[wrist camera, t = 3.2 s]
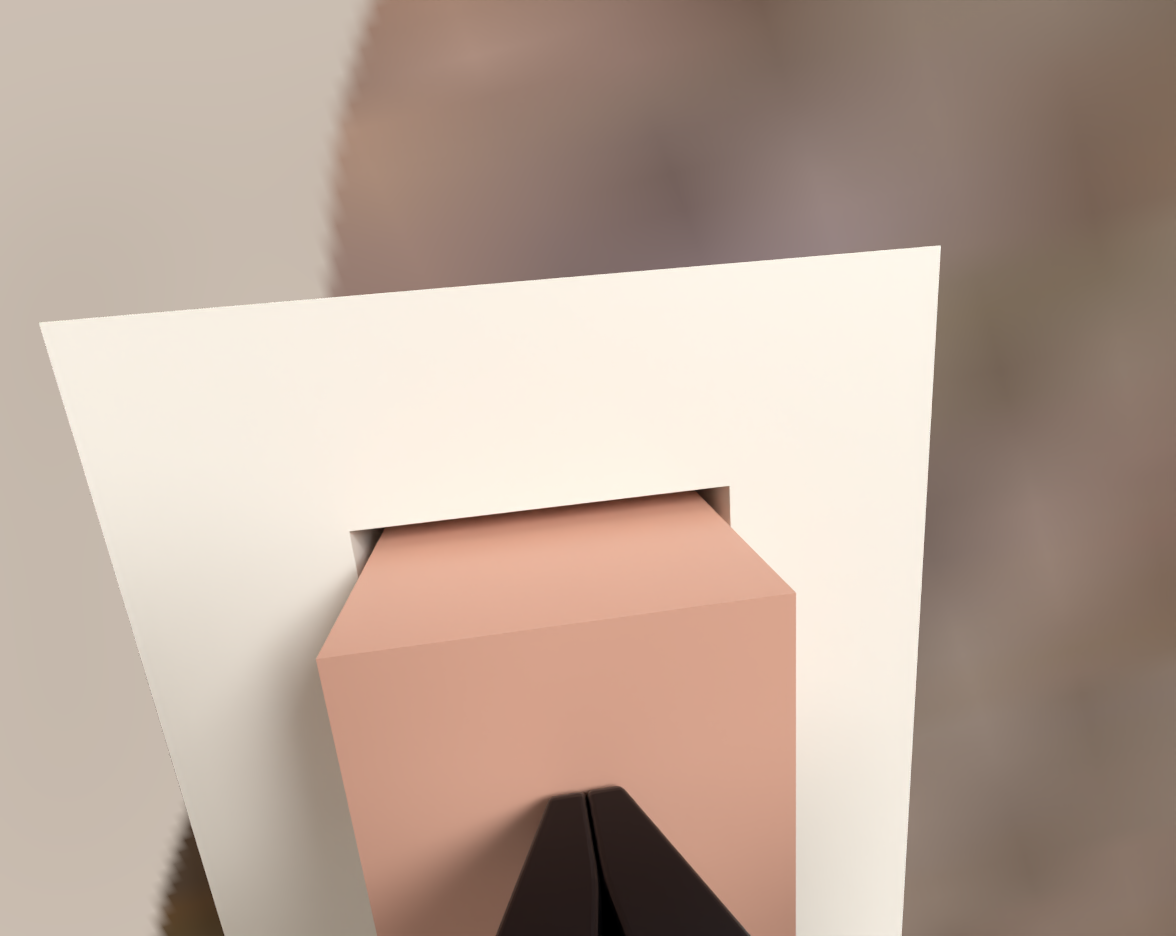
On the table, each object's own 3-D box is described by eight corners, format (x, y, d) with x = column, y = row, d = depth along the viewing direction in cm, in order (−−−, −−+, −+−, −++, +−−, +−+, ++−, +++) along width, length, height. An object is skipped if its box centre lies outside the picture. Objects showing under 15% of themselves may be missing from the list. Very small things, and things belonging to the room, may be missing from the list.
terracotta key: (703, 742, 12) (795, 949, 8) (432, 784, 12) (397, 1026, 8) (691, 487, 11) (796, 593, 7) (386, 524, 10) (315, 658, 6)
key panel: (830, 1160, 18) (880, 1294, 15) (391, 1261, 17) (372, 1421, 14) (850, 256, 12) (940, 245, 9) (146, 317, 10) (38, 322, 8)
